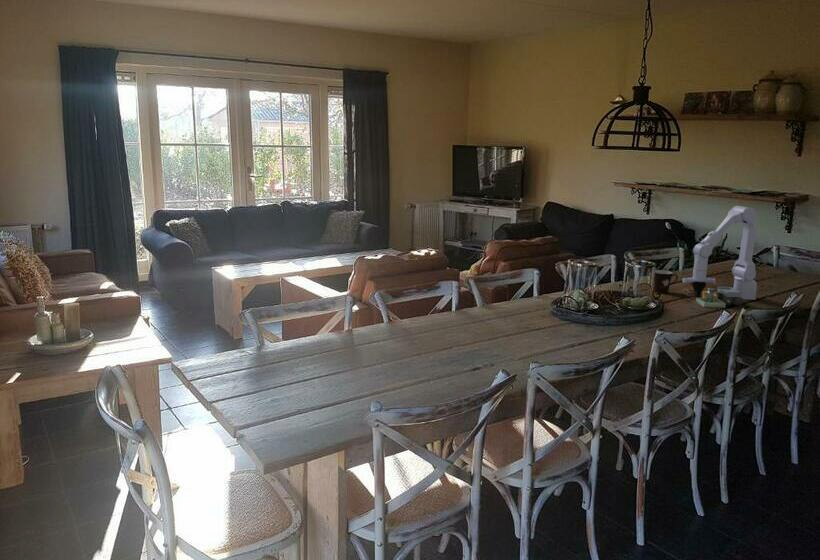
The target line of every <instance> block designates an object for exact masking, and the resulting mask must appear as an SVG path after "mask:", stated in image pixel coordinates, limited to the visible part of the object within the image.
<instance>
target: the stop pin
mask: <svg viewBox="0 0 820 560" xmlns="http://www.w3.org/2000/svg"><path fill="white" fill-rule="evenodd" d="M715 290H716V289H715V288H712V287H707V291H708V296H707V303H713V294H715V292H716V291H715Z"/></svg>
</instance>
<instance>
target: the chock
mask: <svg viewBox="0 0 820 560" xmlns="http://www.w3.org/2000/svg"><path fill="white" fill-rule="evenodd" d="M702 292H703V296H702V297H701V298H707V296H708V290H707V291H706V290H703V291H702ZM713 298H718V296H717V295H715V293H714V294H713Z"/></svg>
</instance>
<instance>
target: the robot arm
mask: <svg viewBox="0 0 820 560" xmlns="http://www.w3.org/2000/svg"><path fill="white" fill-rule="evenodd" d="M734 224H741V225H742V226H743V229H742V236H741V242H740V250H739V256H738V259H736V260H735V261H734V265H733V267H732V268H731V274H732V275H733V278H734V280H733V281H734V282H733V287H732V288H734V289H736V290H738V291H740V292H741V298H743V300H747V301H749V300H750V301H752V300H753V301H754V300H757V296H756V295H757V289H758V284H757V282H756V280H755V278H756V274H757V272H756V271H757V270H756V265H755V263H754V261H753V256H754V249H755V248H754V247H755V241H756V236H757V228H758V219H757V211H756V210H755V209H754V208H753V207H751V206H749V207H748V206H747V207H746V206H741V205H735V206H732V207H731V209H730V210H728V213H727V216H726V217H725V218H724V219H723V221H722V222H720V224H719V225H718V227H717V228H716V229H715V230H711V231H710V232H708V233H707V235H706V236H705V237H704V238H703V239H702V240H701V241H700V242H699V243H697V244H695V245H694V247H693V249H692V253H693V256H694V257H693V258H694V263H693V270H692V277H683V278H682V283H684V284H685V283H691V286H692V289H694V293H695V296H694V297H695V299H696V298H701V297H700V295H701V293H702V292H703V291H704V289H705V288H706V287H707V283H708V284H710V283H711V284H716V278H715V277H713V278H712V277H707V273H708V272H707V271H708V263H709V261H708V260H709V257H710V256H711V255H712V253H713V249H714V248H715V246H717V245H718V243H719V242H720V241H721V240H722V236H723V234H724V233H726V232H727V231H728V230H729V229H730V228H731V227H732V226H734Z"/></svg>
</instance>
